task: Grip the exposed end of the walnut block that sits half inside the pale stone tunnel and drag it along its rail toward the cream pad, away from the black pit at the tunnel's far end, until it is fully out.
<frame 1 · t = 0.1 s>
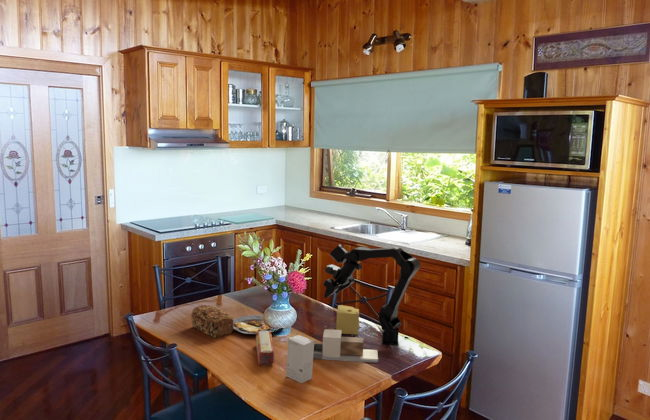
hand: (330, 295, 248), 15 cm above the table, tool tilted 35°, fingers open, 9 cm apart
cheese: (347, 330, 246), on the table
bread: (212, 330, 241), on the table
walnut block: (345, 345, 217), point 4 cm above the table, slide at 0.0 cm
skincare box: (299, 378, 197), on the table
snack package: (265, 356, 216), on the table
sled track: (350, 355, 218), on the table
food plate: (257, 328, 245), on the table
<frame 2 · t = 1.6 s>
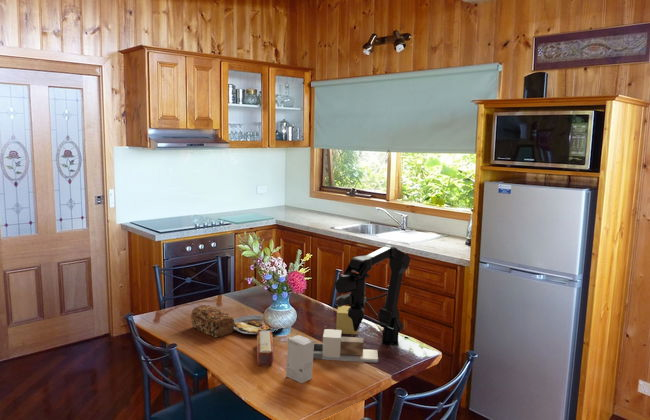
hand: (355, 327, 216), 12 cm above the table, tool pointing down, fingers open, 9 cm apart
nothing on the table moved.
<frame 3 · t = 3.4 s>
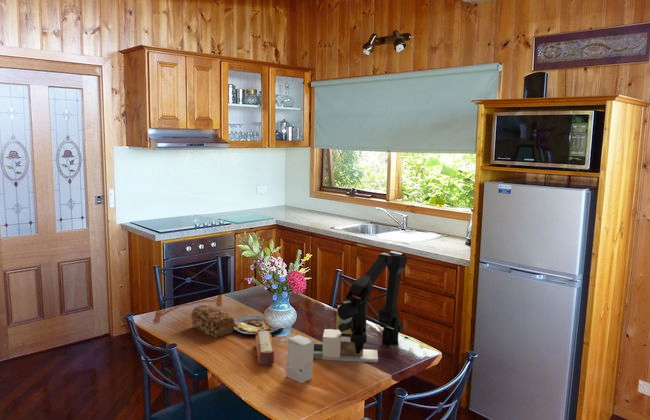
hand: (357, 351, 217), 2 cm above the table, tool pointing down, fingers closed on walnut block, 5 cm apart
walnut block: (345, 345, 217), point 4 cm above the table, slide at 0.0 cm, touching gripper
everything else where it was.
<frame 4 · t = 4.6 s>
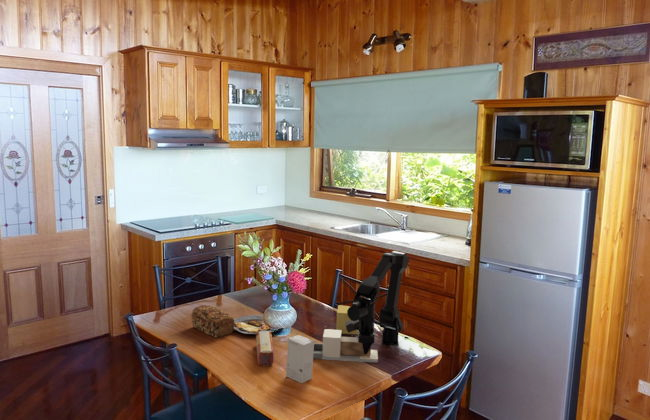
hand: (365, 351, 217), 2 cm above the table, tool pointing down, fingers closed on walnut block, 5 cm apart
walnut block: (353, 346, 217), point 4 cm above the table, slide at 3.0 cm, touching gripper
everything else where it was.
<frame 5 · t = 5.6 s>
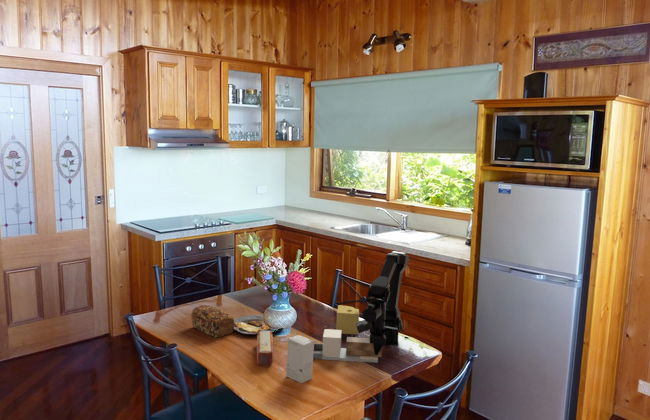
hand: (376, 352, 217), 2 cm above the table, tool pointing down, fingers closed on walnut block, 5 cm apart
walnut block: (363, 346, 217), point 4 cm above the table, slide at 7.4 cm, touching gripper
everything else where it was.
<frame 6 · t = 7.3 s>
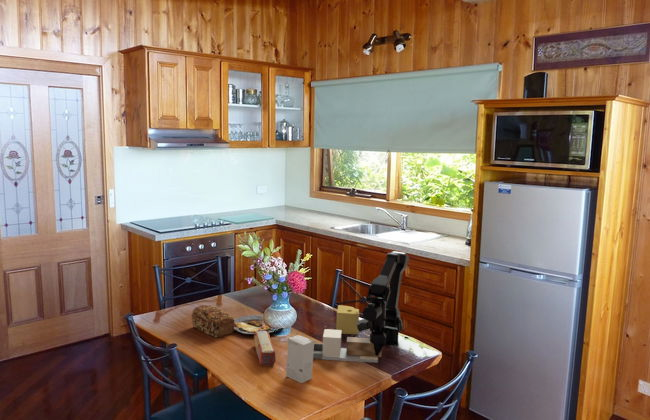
hand: (376, 350, 217), 3 cm above the table, tool pointing down, fingers open, 9 cm apart
walnut block: (364, 346, 217), point 4 cm above the table, slide at 7.4 cm
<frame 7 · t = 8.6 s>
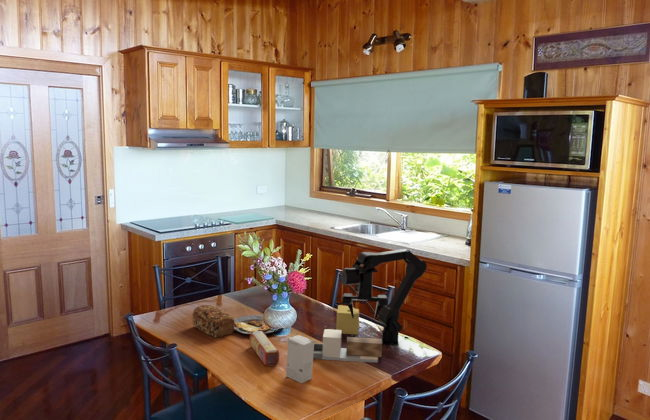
hand: (364, 318, 226), 12 cm above the table, tool pointing down, fingers open, 9 cm apart
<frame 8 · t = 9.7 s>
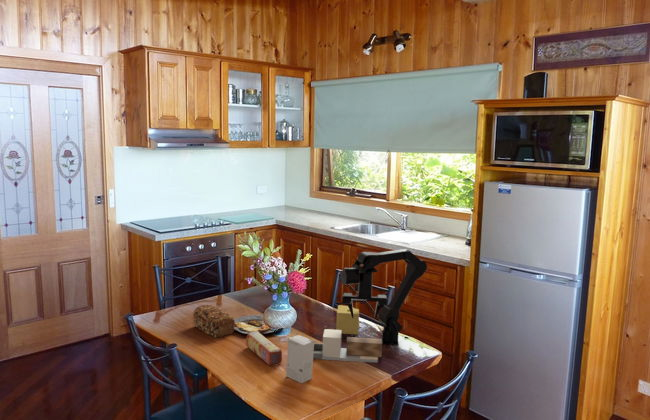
hand: (363, 318, 226), 12 cm above the table, tool pointing down, fingers open, 9 cm apart
at the end: walnut block slide at 7.4 cm; the gripper is holding nothing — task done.
